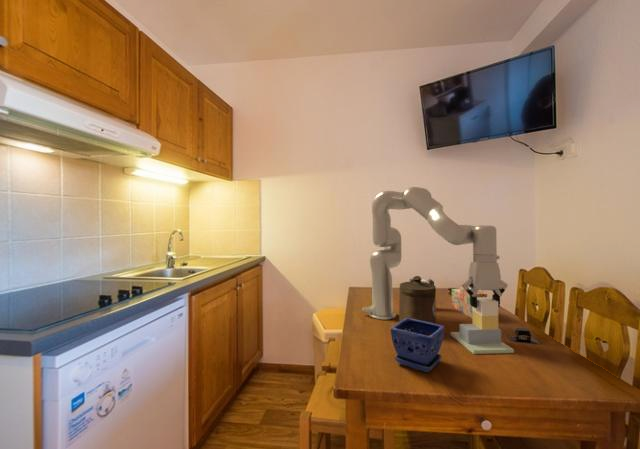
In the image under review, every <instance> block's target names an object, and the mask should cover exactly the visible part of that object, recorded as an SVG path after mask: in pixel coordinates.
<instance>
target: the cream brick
mask: <svg viewBox="0 0 640 449" xmlns="http://www.w3.org/2000/svg"><path fill="white" fill-rule="evenodd" d="M472 311H474V312H476V313H477V314H479V315H481V316H498V317H499V307H498V301H496V300H493V299H492V298H491V297H488V296H487V297H477V308H474V307H472Z"/></svg>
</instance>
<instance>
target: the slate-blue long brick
mask: <svg viewBox="0 0 640 449" xmlns="http://www.w3.org/2000/svg"><path fill="white" fill-rule="evenodd" d="M459 332H460V338H461V339H463V340H464V341H465V342H466V343H468V344H489V343H501V342H502V328H499V327H498V329H495V330H482V329H480V328H478V327H477V326H475V325H474V324H473V323H460V324H459Z"/></svg>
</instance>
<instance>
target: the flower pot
mask: <svg viewBox="0 0 640 449" xmlns="http://www.w3.org/2000/svg"><path fill="white" fill-rule="evenodd" d="M412 328H413V329H412ZM405 329H406V331H405ZM409 329H410V331H409ZM420 330H422V332H420ZM413 332H416V333H413ZM427 333H429V334H430V335H428V334H427ZM390 336H391V341H392V345H393V348H394V350H395V353H396V355H395V356H394V359H395V361H396V362H397V363H398V364H400V365H403V366H407V367H409V368H412V369H414V370H418V371H421V372H424V373H430V371H432V370H433V369H434V368H435V366H437V364H438V363H439V361H440V360H441V359H442V357H443V355H442V354H440V353H439V352H440V349H441V347H442V344H443V341H444V336H445V326H444V325H441V324H438V323H436V324H434V323H429V322H425V321H420V320H416V319H411V318H406V319H404V320H402V321H400V322H397V323H396V324H394V325H393V326H392V327H391V328H390Z"/></svg>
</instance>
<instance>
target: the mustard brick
mask: <svg viewBox="0 0 640 449" xmlns="http://www.w3.org/2000/svg"><path fill="white" fill-rule="evenodd" d="M472 317H473V319H472V324H474V325H475V326H477V327H478V328H480V329H482V330H495V329H498V328H499V315H498V316H481V315H479V314H477V313H476V312H474V311H472Z"/></svg>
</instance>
